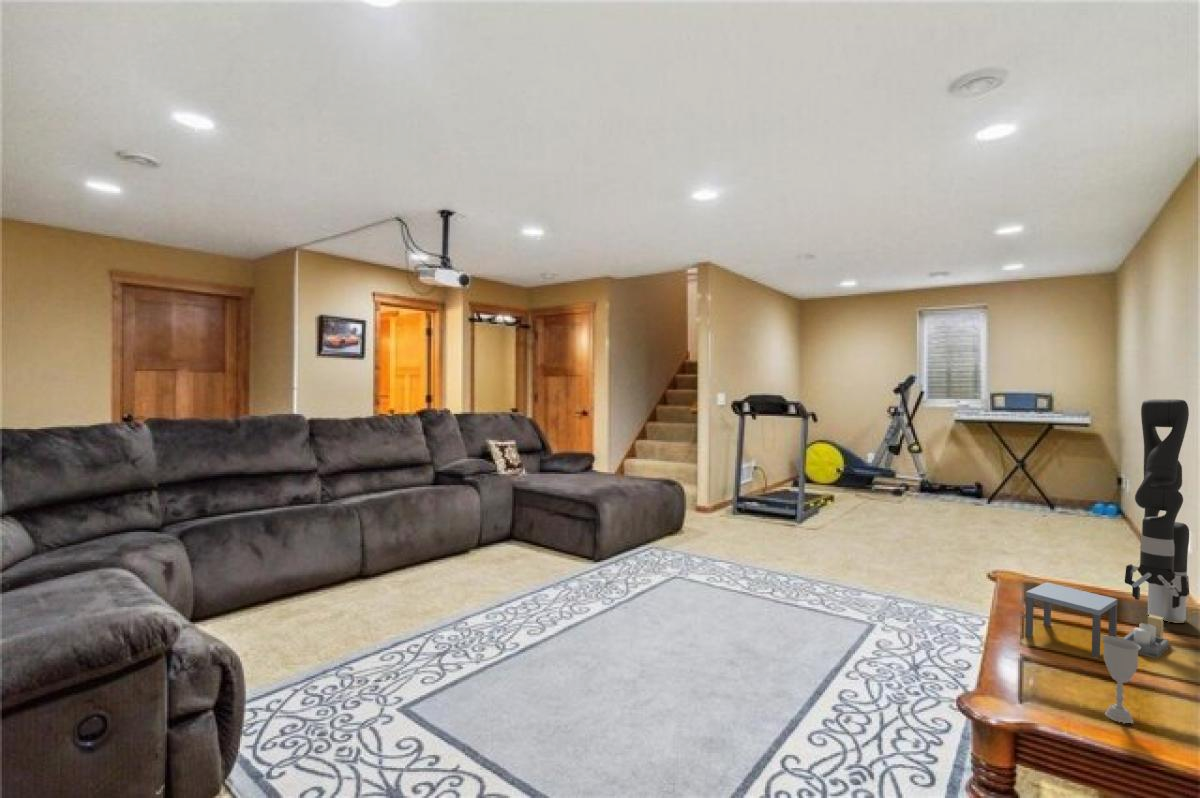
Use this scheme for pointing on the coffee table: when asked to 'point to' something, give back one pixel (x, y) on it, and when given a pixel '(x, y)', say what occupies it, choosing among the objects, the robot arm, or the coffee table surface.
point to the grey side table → (1075, 601)
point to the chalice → (1120, 671)
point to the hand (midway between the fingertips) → (1155, 603)
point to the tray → (1152, 648)
